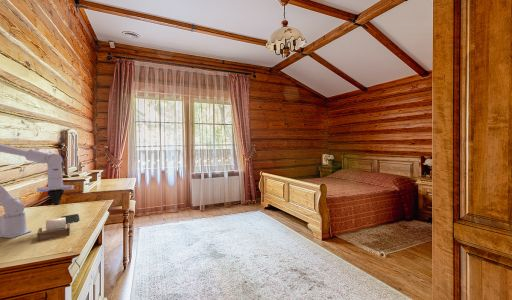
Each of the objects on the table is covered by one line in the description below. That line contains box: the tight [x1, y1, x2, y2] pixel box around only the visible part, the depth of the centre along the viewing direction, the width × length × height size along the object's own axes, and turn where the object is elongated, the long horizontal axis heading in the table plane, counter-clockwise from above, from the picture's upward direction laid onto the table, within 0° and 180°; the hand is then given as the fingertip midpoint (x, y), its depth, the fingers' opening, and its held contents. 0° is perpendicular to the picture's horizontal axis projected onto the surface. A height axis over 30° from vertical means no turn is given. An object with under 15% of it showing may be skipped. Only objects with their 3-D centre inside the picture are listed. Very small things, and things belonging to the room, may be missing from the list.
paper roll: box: [45, 217, 67, 232], centre depth 116 cm, size 7×5×5 cm
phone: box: [60, 213, 80, 225], centre depth 130 cm, size 8×1×15 cm
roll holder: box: [36, 223, 71, 242], centre depth 107 cm, size 7×11×4 cm
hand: (56, 204), depth 121 cm, fingers closed
